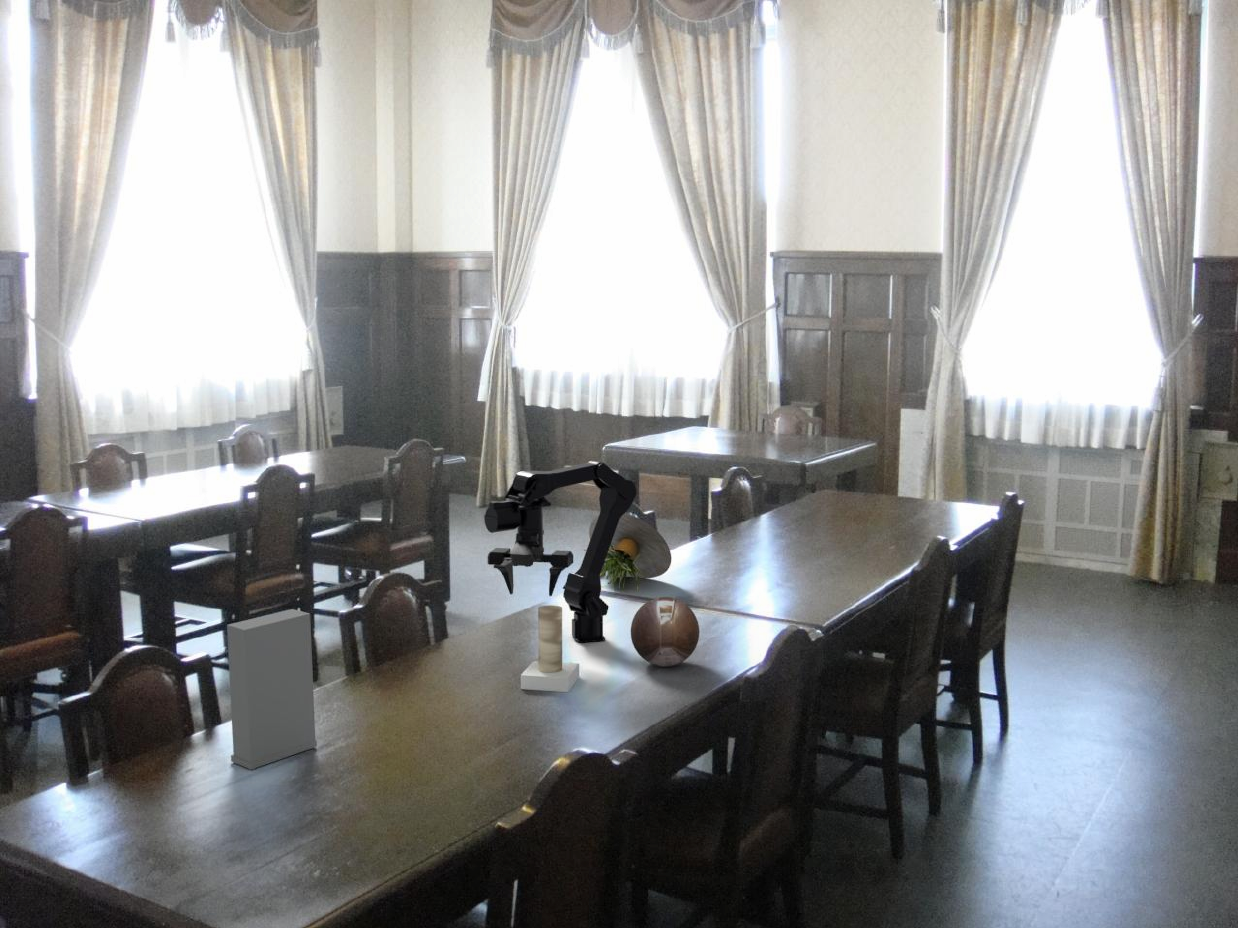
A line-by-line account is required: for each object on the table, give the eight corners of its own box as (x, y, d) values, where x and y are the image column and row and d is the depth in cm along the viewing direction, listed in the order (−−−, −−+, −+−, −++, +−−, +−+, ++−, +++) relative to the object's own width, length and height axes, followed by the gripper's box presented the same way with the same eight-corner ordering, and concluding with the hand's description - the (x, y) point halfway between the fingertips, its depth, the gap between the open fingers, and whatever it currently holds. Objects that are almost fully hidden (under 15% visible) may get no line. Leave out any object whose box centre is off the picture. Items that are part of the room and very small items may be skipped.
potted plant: (579, 603, 353) (554, 551, 335) (606, 555, 362) (583, 502, 344) (656, 625, 341) (634, 572, 323) (682, 575, 350) (663, 521, 332)
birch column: (549, 663, 263) (549, 604, 261) (567, 668, 260) (567, 608, 258) (533, 669, 259) (533, 608, 258) (551, 673, 256) (550, 612, 254)
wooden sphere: (641, 678, 263) (641, 609, 261) (622, 657, 277) (622, 592, 275) (708, 672, 267) (709, 604, 265) (686, 652, 281) (686, 587, 279)
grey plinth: (534, 674, 266) (533, 660, 265) (579, 677, 264) (579, 663, 263) (520, 688, 256) (520, 674, 256) (567, 692, 254) (567, 677, 254)
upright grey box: (296, 740, 228) (290, 607, 225) (316, 747, 224) (311, 613, 221) (230, 762, 218) (223, 624, 214) (250, 770, 214) (243, 630, 210)
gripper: (479, 532, 273) (480, 601, 275) (561, 535, 269) (562, 605, 272) (494, 523, 284) (495, 589, 286) (573, 526, 280) (574, 593, 282)
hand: (531, 594), depth 281 cm, fingers open, 9 cm apart
